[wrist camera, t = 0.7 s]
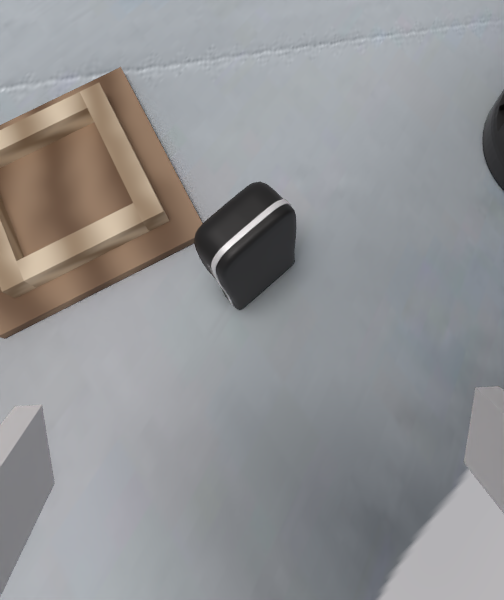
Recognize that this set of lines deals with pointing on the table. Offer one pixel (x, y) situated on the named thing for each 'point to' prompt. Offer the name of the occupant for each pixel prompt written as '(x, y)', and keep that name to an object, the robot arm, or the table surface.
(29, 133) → the holder
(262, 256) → the battery charger
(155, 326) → the table surface
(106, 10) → the table surface
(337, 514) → the table surface
